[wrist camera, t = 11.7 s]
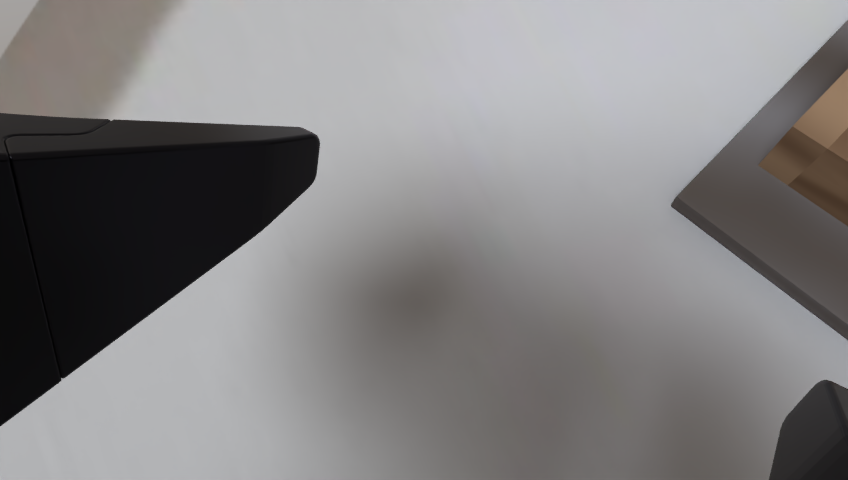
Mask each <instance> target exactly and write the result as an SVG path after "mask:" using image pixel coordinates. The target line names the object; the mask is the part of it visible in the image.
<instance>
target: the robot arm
mask: <svg viewBox="0 0 848 480" xmlns="http://www.w3.org/2000/svg"><path fill="white" fill-rule="evenodd" d="M319 148H320V141H319V138H318V136H317V135H316V134H314V133H312V132H310V131H308V130H306V129H304V128H301V127H285V126H260V125H235V124H210V123H185V122H160V121H135V120H112V121H110V120H108V119H87V118H67V117H49V116H34V115H20V114H6V113H0V426H1V425H3V424H4V423H5V422H7V421H8V420H10V419H11V418H12V417H14V416H15V415H16V414H18V413H19V412H20V411H22V410H23V409H24V408H26V407H27V406H28V405H30V404H31V403H32V402H34V401H35V400H36V399H38V398H39V397H40V396H42V395H43V394H44V393H46V392H47V391H48V390H50V389H51V388H52V387H54V386H55V385H56V384H58V383H59V382H60V381H61V378H65V377H67V376H68V375H69V374H71V373H72V372H73V371H75V370H76V369H77V368H79V367H80V366H81V365H83V364H84V363H85V362H87V361H88V360H89V359H91V358H92V357H93V356H95V355H96V354H98V353H99V352H100V351H102V350H103V349H104V348H106V347H107V346H108V345H110V344H111V343H112V342H114V341H115V340H116V339H118V338H119V337H120V336H122V335H123V334H124V333H126V332H127V331H128V330H130V329H131V328H132V327H134V326H135V325H136V324H138V323H139V322H140V321H142V320H143V319H145V318H146V317H147V316H149V315H150V314H151V313H153V312H154V311H155V310H157V309H158V308H159V307H161V306H162V305H163V304H165V303H166V302H167V301H169V300H170V299H171V298H173V297H174V296H175V295H177V294H178V293H179V292H181V291H182V290H183V289H185V288H186V287H187V286H189V285H190V284H192V283H193V282H194V281H196V280H197V279H198V278H200V277H201V276H202V275H204V274H205V273H206V272H208V271H209V270H210V269H212V268H213V267H214V266H216V265H217V264H218V263H220V262H221V261H222V260H224V259H225V258H226V257H228V256H229V255H230V254H232V253H233V252H234V251H236V250H237V249H239V248H240V247H241V246H243V245H244V244H245V243H247V242H248V241H249V240H251V239H252V238H253V237H255V236H256V235H257V234H258V233H260V232H261V231H262V230H263V229H264V228H265V227H267V226H268V225H269V224H270V223H271V222H272V221H273V220H274V219H275V218H276V217H278V216H279V215H280V214H281V213H282V212H283V211H284V210H285V209H286V208H287V207H288V206H289V205H291V204H292V203H293V202H294V201H295V200H296V199H297V198H298V197H299V196H300V195H301V194H302V193H303V192H305V191H306V190H307V189H308V188H309V187H310V186H311V185H312V183H313V182H314V180H315V177H316V174H317V165H318V157H319ZM769 480H848V389H846V388H844V387H842V386H840V385H838V384H836V383H834V382H832V381H829V380H823V381H820V382H819V383H817V384H816V385H815V386H814V387H813V388H812V389H811V390H810V391H809V392H808V393H807V394H806V396H805V397H804V398H803V399H802V400H801V401H800V402H799V403H798V404H797V405H796V407H795V408H794V409H793V410H792V411H791V412H790V413H789V414H788V416H787V417H786V419H785V420H784V422H783V424H782V427H781V430H780V434H779V438H778V443H777V447H776V451H775V456H774V460H773V464H772V469H771V473H770V478H769Z"/></svg>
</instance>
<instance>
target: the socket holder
mask: <svg viewBox="0 0 848 480" xmlns="http://www.w3.org/2000/svg"><path fill="white" fill-rule="evenodd" d="M671 206H672V207H673V208H674V209H676V210H677V211H678V212H680V213H681V214H682V215H684V216H685V217H686V218H688V219H689V220H690V221H691V222H693V223H694V224H695V225H697V226H698V227H699V228H701V229H702V230H703V231H705V232H706V233H707V234H709V235H710V236H711V237H713V238H714V239H715V240H717V241H718V242H719V243H721V244H722V245H723V246H725V247H726V248H727V249H728V250H730V251H731V252H732V253H734V254H735V255H736V256H738V257H739V258H740V259H742V260H743V261H744V262H746V263H747V264H748V265H750V266H751V267H752V268H754V269H755V270H756V271H758V272H759V273H760V274H762V275H763V276H764V277H766V278H767V279H768V280H769V281H771V282H772V283H773V284H775V285H776V286H777V287H779V288H780V289H781V290H783V291H784V292H785V293H787V294H788V295H789V296H791V297H792V298H793V299H795V300H796V301H797V302H799V303H800V304H801V305H803V306H804V307H805V308H806V309H808V310H809V311H810V312H812V313H813V314H814V315H816V316H817V317H818V318H820V319H821V320H822V321H824V322H825V323H826V324H828V325H829V326H830V327H832V328H833V329H834V330H836V331H837V332H838V333H840V334H841V335H842V336H844V337H845V338H846V339H847V340H848V21H847V22H846V23H845V24H844V25H843V26H842V27H841V28H840V29H839V30H838V31H837V32H836V33H835V34H834V35H833V36H832V37H831V38H830V39H829V40H828V41H827V42H826V43H825V44H824V45H823V46H822V47H821V48H820V49H819V50H818V52H817V53H816V54H815V55H814V56H813V57H812V58H811V59H810V60H809V61H808V62H807V63H806V64H805V65H804V66H803V67H802V68H801V69H800V70H799V71H798V72H797V73H796V74H795V75H794V76H793V77H792V78H791V79H790V80H789V81H788V82H787V83H786V84H785V85H784V87H783V88H782V89H781V90H780V91H779V92H778V93H777V94H776V95H775V96H774V97H773V98H772V99H771V100H770V101H769V102H768V103H767V104H766V105H765V106H764V107H763V108H762V109H761V110H760V111H759V112H758V113H757V114H756V115H755V116H754V117H753V118H752V119H751V121H750V122H749V123H748V124H747V125H746V126H745V127H744V128H743V129H742V130H741V131H740V132H739V133H738V134H737V135H736V136H735V137H734V138H733V139H732V140H731V141H730V142H729V143H728V144H727V145H726V146H725V147H724V148H723V149H722V150H721V151H720V152H719V153H718V155H717V156H716V157H715V158H714V159H713V160H712V161H711V162H710V163H709V164H708V165H707V166H706V167H705V168H704V169H703V170H702V171H701V172H700V173H699V174H698V175H697V176H696V177H695V178H694V179H693V180H692V181H691V182H690V183H689V184H688V185H687V186H686V187H685V188H684V190H683V191H682V192H681V193H680V194H679V195H678V196H677V197H676V198H675V200H674V202H673V203H672V205H671Z"/></svg>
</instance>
